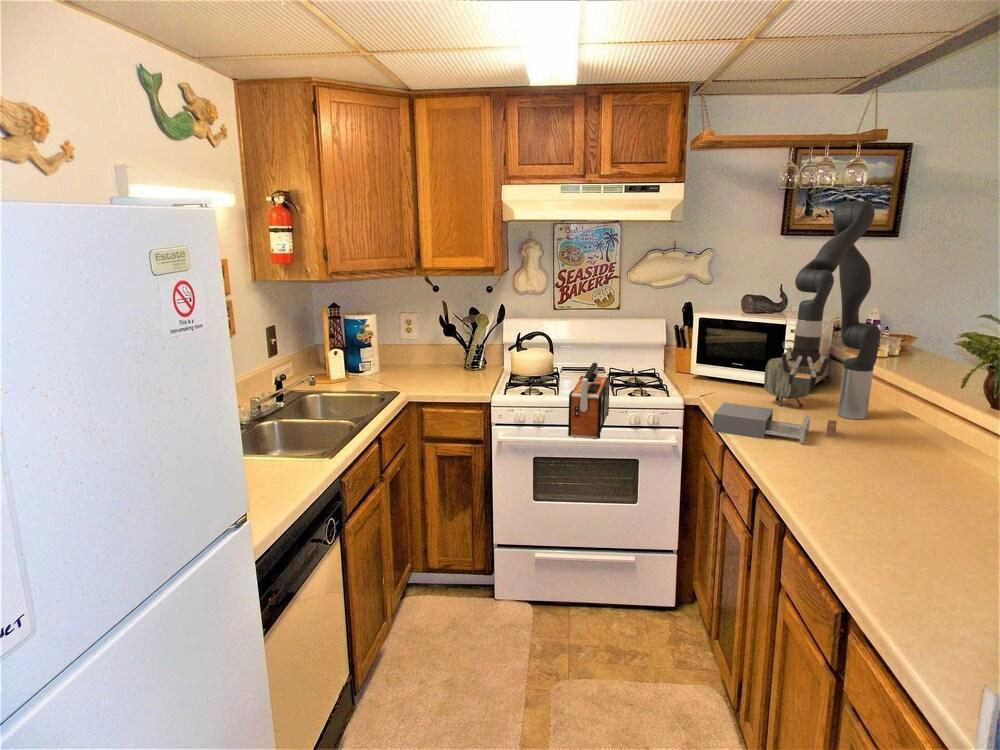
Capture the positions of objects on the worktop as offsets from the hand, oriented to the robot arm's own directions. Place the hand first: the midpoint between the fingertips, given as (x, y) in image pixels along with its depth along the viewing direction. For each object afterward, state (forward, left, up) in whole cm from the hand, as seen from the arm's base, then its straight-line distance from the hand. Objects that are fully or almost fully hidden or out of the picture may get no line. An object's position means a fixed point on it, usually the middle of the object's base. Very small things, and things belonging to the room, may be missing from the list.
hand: (801, 386), depth 205 cm
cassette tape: (0, 0, +2) cm, 2 cm away
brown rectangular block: (-7, +10, -16) cm, 20 cm away
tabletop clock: (-37, -8, -16) cm, 41 cm away
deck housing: (+1, -16, -16) cm, 23 cm away
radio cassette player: (+27, -61, -16) cm, 69 cm away
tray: (+1, -5, -16) cm, 16 cm away
